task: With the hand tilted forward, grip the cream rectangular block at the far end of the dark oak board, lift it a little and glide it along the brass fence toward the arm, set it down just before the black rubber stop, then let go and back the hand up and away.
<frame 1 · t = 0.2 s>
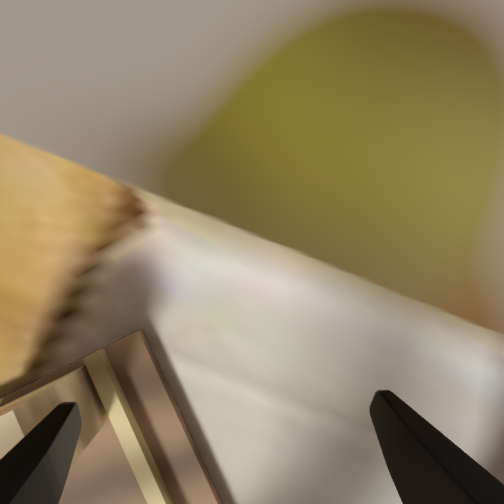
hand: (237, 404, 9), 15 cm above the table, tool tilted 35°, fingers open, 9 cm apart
cream rectangular block: (55, 412, 20), point 1 cm above the table, touching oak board
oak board: (100, 489, 21), on the table
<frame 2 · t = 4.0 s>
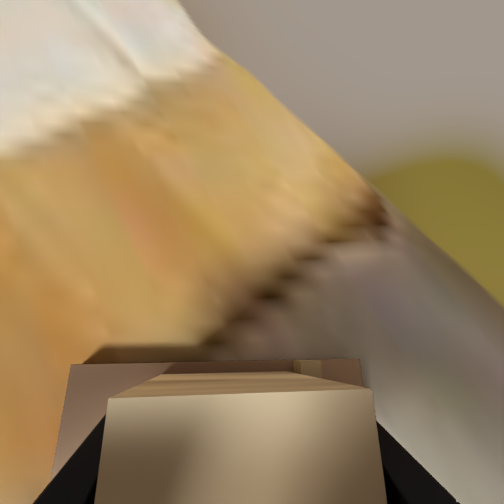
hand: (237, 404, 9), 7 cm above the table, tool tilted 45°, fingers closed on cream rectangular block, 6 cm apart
cream rectangular block: (224, 419, 13), point 1 cm above the table, touching gripper, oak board
when the fingers open (7 cm above the table, at t = 8.7 s): cream rectangular block stays where it is, resting on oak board.
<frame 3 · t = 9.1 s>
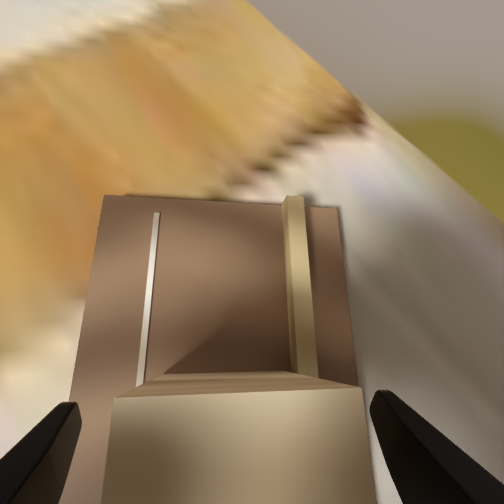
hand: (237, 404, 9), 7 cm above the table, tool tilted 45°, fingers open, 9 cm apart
cream rectangular block: (224, 417, 14), point 1 cm above the table, touching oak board
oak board: (223, 360, 16), on the table
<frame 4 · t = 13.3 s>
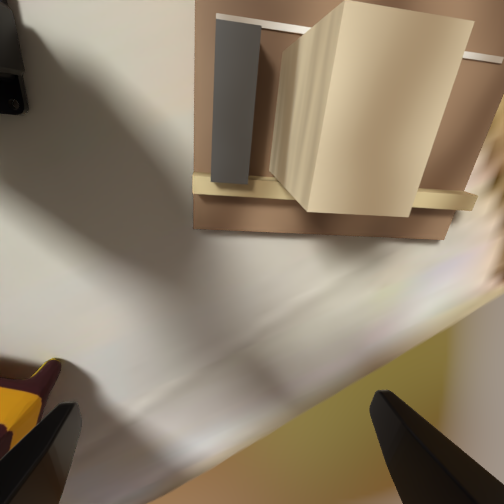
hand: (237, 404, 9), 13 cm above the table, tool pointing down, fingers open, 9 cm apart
cream rectangular block: (309, 119, 17), point 1 cm above the table, touching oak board
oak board: (343, 122, 18), on the table
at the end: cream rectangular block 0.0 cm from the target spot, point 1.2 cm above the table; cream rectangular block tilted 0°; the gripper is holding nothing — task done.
